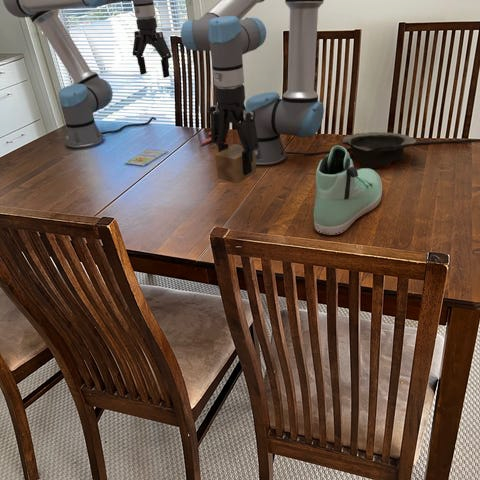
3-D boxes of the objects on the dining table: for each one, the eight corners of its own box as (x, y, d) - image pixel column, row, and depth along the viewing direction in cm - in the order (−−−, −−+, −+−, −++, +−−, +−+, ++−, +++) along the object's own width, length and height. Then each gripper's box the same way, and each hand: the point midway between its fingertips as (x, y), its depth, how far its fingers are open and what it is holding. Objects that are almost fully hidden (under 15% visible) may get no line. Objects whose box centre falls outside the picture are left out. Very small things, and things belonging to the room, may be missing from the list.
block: (217, 178, 132) (214, 154, 128) (236, 167, 137) (234, 143, 133) (237, 184, 128) (235, 159, 124) (256, 172, 133) (254, 148, 129)
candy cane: (192, 143, 195) (191, 140, 194) (214, 132, 205) (214, 128, 204) (203, 146, 192) (203, 142, 191) (225, 134, 202) (225, 130, 201)
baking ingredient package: (124, 162, 180) (148, 148, 192) (124, 163, 181) (148, 150, 192) (143, 164, 177) (166, 151, 188) (143, 166, 177) (166, 152, 189)
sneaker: (389, 187, 148) (396, 123, 138) (356, 242, 123) (361, 168, 112) (346, 181, 154) (350, 119, 144) (306, 232, 129) (307, 161, 118)
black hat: (374, 178, 154) (374, 150, 149) (327, 160, 174) (326, 135, 170) (431, 159, 163) (433, 133, 158) (380, 144, 183) (380, 120, 179)
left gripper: (117, 18, 186) (127, 74, 197) (161, 20, 172) (169, 80, 183) (132, 15, 191) (141, 70, 202) (176, 17, 177) (183, 76, 188)
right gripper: (190, 85, 122) (200, 168, 135) (251, 93, 111) (257, 183, 123) (209, 78, 127) (218, 158, 139) (270, 85, 116) (274, 172, 128)
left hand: (154, 75), depth 193 cm, fingers open, 13 cm apart
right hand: (236, 170), depth 131 cm, fingers closed on block, 7 cm apart
